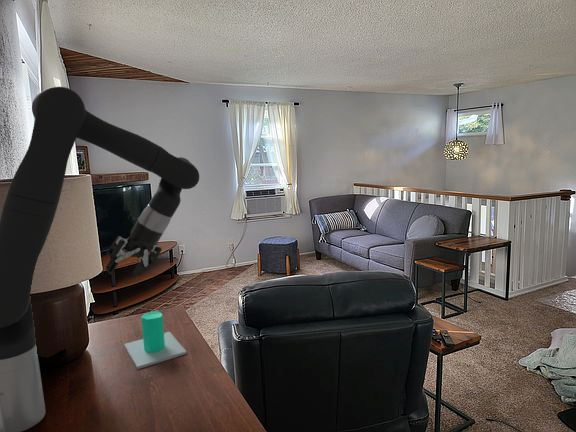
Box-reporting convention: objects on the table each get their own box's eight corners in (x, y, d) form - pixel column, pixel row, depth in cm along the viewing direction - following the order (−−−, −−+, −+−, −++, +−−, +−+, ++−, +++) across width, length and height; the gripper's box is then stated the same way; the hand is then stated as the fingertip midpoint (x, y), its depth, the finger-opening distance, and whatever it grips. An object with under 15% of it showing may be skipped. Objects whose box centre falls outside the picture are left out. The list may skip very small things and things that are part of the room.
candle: (151, 354, 112) (147, 316, 110) (140, 348, 116) (136, 311, 114) (168, 346, 117) (166, 309, 115) (157, 341, 120) (154, 304, 118)
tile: (186, 353, 114) (186, 351, 114) (137, 369, 106) (137, 366, 106) (169, 333, 127) (169, 331, 127) (124, 346, 119) (124, 343, 119)
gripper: (164, 223, 112) (136, 269, 114) (123, 211, 100) (92, 263, 102) (178, 236, 108) (149, 283, 110) (137, 225, 96) (105, 279, 98)
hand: (122, 273), depth 106 cm, fingers open, 8 cm apart
